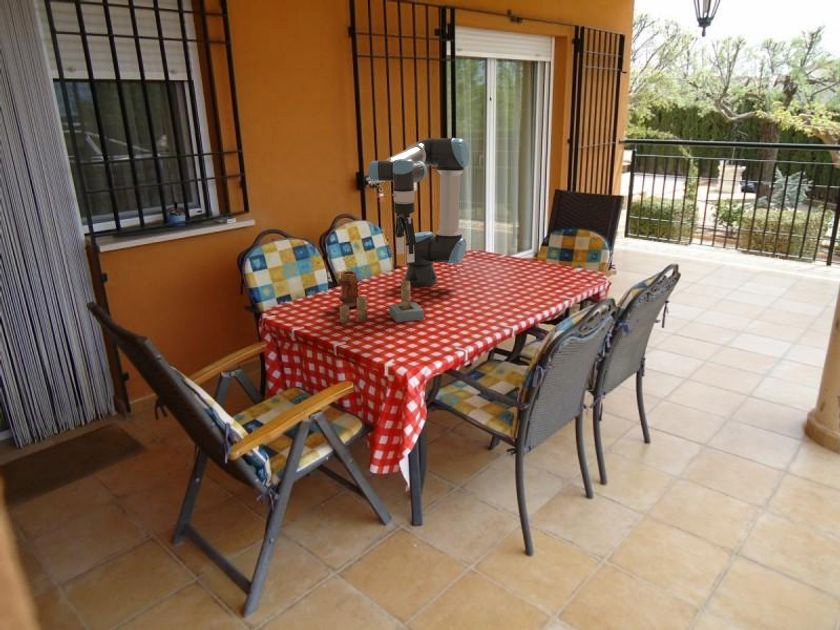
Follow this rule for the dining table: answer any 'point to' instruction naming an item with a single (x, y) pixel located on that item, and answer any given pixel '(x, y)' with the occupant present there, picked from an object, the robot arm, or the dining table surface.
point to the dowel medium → (362, 308)
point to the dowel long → (405, 295)
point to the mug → (349, 288)
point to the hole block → (406, 312)
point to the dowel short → (344, 314)
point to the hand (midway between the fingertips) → (405, 257)
